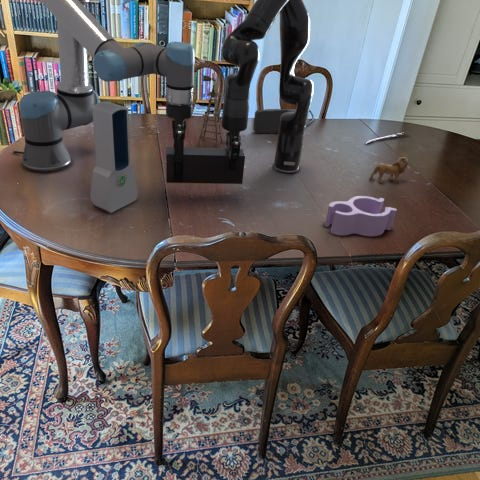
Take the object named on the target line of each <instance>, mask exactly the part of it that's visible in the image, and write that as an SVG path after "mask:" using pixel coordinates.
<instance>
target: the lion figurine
mask: <svg viewBox="0 0 480 480" xmlns="http://www.w3.org/2000/svg"><path fill="white" fill-rule="evenodd" d="M408 164H409V161H408V157H406V156H401V157H398V158H397V160H396V161H395V163H393V164H386V163H379V164H377V166H376V167H375V168H374V170H373V171H372V173H371V174H370V177H369V179H368V181H370V182H371V181H372V180H374V179H375V178H374V176H375V175H377V174H378V176H377V177H378V178H377V179H378V181H379V183H380V184H384V181H383V180H382V178H383V176H384V174H386V175H390V176H389V180H390V181H391V180H393V182H394V183H396V184H397V183H398V182H399V181H398V178H399V176H400V175H401V174H403V173H405V171H406V169H407V167H408V166H409V165H408Z"/></svg>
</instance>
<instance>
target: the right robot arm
mask: <svg viewBox="0 0 480 480" xmlns="http://www.w3.org/2000/svg"><path fill="white" fill-rule="evenodd" d="M278 16H279V44H280V71H279V84H278V85H279V88H278V91H279V94H278V95H279V98H280V100H281V102H282V103H285V104H288V105H291V106H296V108H295V109H296V111H294V112H286V113H284V114H282V115H281V118H280V125H279V133H277V140H276V147H275V154H274V161H273V162H274V163H273V164H272V165H273V166H272V168H273V170H275V171H277V172H279V173H281V174H282V173H283V174H295V173H297V172H299V168H300V164H301V163H300V162H301V157H302V150H303V145H304V138H305V132H306V128H308V126H310V125H311V124H312V123H313V121H314V119H315V116H314V114H313V112H312V111H311V104H312V101H313V100H312V99H313V97H314V96H313V95H314V91H315V90H314V88H315V87H314V86H315V85H314V82H313V81H312V80H311V79H308V78H304V77H300V76H296V75H295V66H296V63H297V61H298V60H299V58H300V57H301V55H302V54H303V53H304V51H305V50H306V48H307V46H308V45H309V42H310V35H311V34H310V33H311V32H310V31H311V28H310V27H311V19H310V15H309V12H308V9H307V7H306V5H305V3H304V0H256V1H254V4H253V5H252V6H251V8H250V10H249V11H248V13H247V15H246V16H245V18H244V20H243V21H241V22H240V24H238V25H237V26H236V27H235V28H234V29H233V30H232V31H231V32H230V33H229V34H228V35H227V37H226V38H225V39H224V41H223V43H222V45H221V57H222V59H223V60H224V62H226V63H228V64H229V65H234V66H237V67H238V70H237V72H234V73H229V74H227V76H226V77H225V84H224V85H225V86H224V97H223V102H222V115H221V128H222V129H224V130H226V134H225V137H226V138H225V146H226V148H225V149H228V151H229V170H231V171H235V170H236V164H237V160H239V153H240V149H241V145H242V143H241V142H242V136H241V133H240V132H244V131H246V130H247V129H248V122H249V113H250V92H251V84H252V81H253V78H254V75H255V72H256V69H257V66H258V64H259V60H260V53H261V52H260V48H259V45H258V44H257V43H256V42H255V41H259V40H264V39H265V37H266V36H267V34H268V33H269V31H270V29H271V28H272V26H273V24H274V22H275V21H276V20H277V17H278ZM309 114H311V120H310V121H309V122H308V123H307V121H308V118H309ZM233 153H236V155H233Z"/></svg>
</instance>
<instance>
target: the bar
mask: <svg viewBox="0 0 480 480" xmlns="http://www.w3.org/2000/svg"><path fill="white" fill-rule="evenodd" d="M165 152H166V153H165V169H166V170H165V176H166V177H165V179H166V180H165V183H167V184H171V183H172V184H215V185H216V184H217V185H220V184H222V185H243V182H244V171H245V163H246V155H245V152H244V149H243V148H240V153H239V160H237V164H236V170H235V171H231V170H229V151H228V149H226V148H222V147H221V148H219V147H218V148H216V147H187V146H184V153H183V161H184V162H183V182H174V163H172V160H174V159H175V147H173V146H166V148H165ZM233 155H236V153H233Z"/></svg>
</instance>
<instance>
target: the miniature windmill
mask: <svg viewBox="0 0 480 480" xmlns="http://www.w3.org/2000/svg"><path fill="white" fill-rule="evenodd" d="M219 71H220V68H219V67H218V68H217V71H216V73H215V74H214V76H215V77H213V78H212V77H211V76H209V75H205V74H203V75H202V82H213V85H212V88H211V91H209V92H208V93H207V94H206V95H207V96H208V97H209V99H208V105H206V107H207V108H206V111H205V116H204V118H203V123H202V127H201V130H200V135H199V136H198V138H199V139H198V143H197V146H198V147H200V144H201V141H202V140H213V141H215V146H216V147H215V148H219V140H220V143H224V142H223V141H224V140H223V133H222V125H221V119H220V109H219V104H218V103H219V102H218V101H219V99H218V97H220V96H221V95H222V92H218V90H219V87H220V82H221V79H220V78H221V76H220V72H219ZM212 104H213V105H214V109H213V108H211V105H212ZM210 111H213V112H210ZM210 115H214V119H209V116H210ZM209 122H214V123H215V124H209ZM208 126H210V127H215V131H211V130H210V131H209V130H207V128H208ZM218 130H219V132H218ZM207 133H210V134H215V138H213V137H212V138H211V137H206V134H207ZM218 135H219V137H218Z"/></svg>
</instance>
